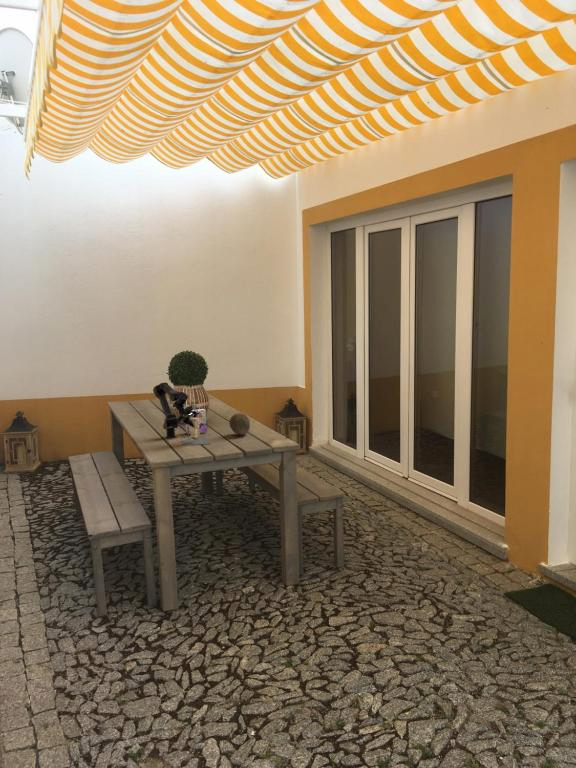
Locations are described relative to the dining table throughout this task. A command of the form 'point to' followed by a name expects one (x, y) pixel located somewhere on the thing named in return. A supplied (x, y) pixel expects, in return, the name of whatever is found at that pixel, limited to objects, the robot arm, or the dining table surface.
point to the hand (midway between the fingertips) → (196, 425)
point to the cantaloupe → (239, 424)
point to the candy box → (201, 422)
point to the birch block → (194, 428)
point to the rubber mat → (195, 442)
